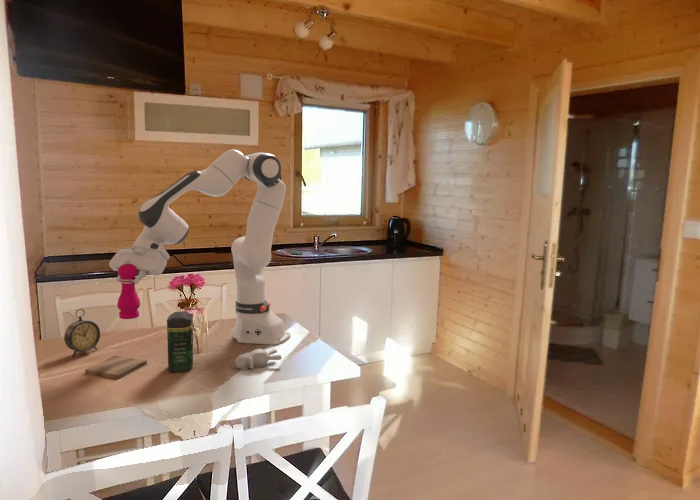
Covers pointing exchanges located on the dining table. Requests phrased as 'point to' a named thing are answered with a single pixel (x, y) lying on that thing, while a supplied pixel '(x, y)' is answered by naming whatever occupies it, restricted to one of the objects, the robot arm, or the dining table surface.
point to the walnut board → (116, 367)
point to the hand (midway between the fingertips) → (126, 282)
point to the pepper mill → (128, 292)
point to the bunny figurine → (255, 359)
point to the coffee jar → (180, 341)
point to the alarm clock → (82, 335)
